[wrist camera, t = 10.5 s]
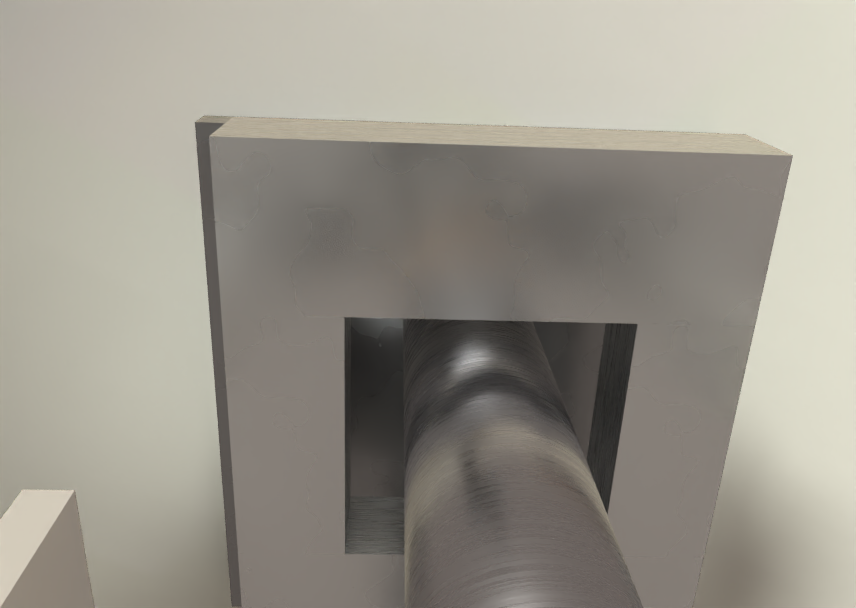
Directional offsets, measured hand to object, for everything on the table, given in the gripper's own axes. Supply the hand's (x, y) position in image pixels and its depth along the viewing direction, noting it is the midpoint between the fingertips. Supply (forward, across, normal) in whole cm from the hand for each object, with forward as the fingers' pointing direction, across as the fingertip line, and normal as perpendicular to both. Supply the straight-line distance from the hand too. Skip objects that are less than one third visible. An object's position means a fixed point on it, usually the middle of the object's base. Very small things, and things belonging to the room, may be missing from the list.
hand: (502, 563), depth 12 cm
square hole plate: (+12, 0, -3) cm, 12 cm away
